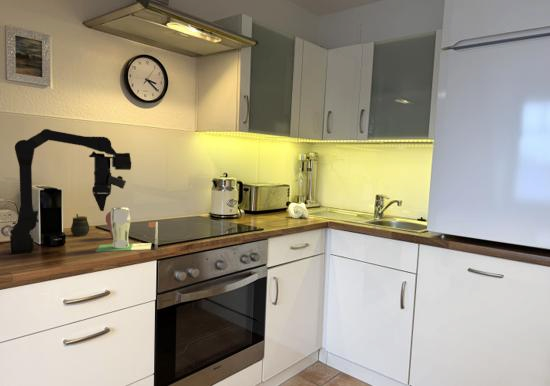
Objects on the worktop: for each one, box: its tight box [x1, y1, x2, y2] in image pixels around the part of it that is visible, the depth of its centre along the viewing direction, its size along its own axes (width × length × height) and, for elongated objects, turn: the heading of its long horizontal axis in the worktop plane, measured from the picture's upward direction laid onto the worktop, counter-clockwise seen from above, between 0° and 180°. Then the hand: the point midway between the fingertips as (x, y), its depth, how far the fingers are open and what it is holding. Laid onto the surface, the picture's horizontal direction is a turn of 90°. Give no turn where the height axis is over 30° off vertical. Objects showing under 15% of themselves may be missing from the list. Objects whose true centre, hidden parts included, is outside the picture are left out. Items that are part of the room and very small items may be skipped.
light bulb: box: [105, 210, 113, 239], centre depth 163 cm, size 7×7×12 cm
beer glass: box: [110, 206, 131, 249], centre depth 146 cm, size 7×7×15 cm
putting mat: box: [95, 221, 159, 253], centre depth 147 cm, size 22×10×9 cm, turn 106°
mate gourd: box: [70, 213, 90, 237], centre depth 167 cm, size 7×8×10 cm
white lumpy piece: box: [288, 202, 309, 219], centre depth 234 cm, size 11×12×9 cm
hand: (102, 209), depth 150 cm, fingers open, 9 cm apart
